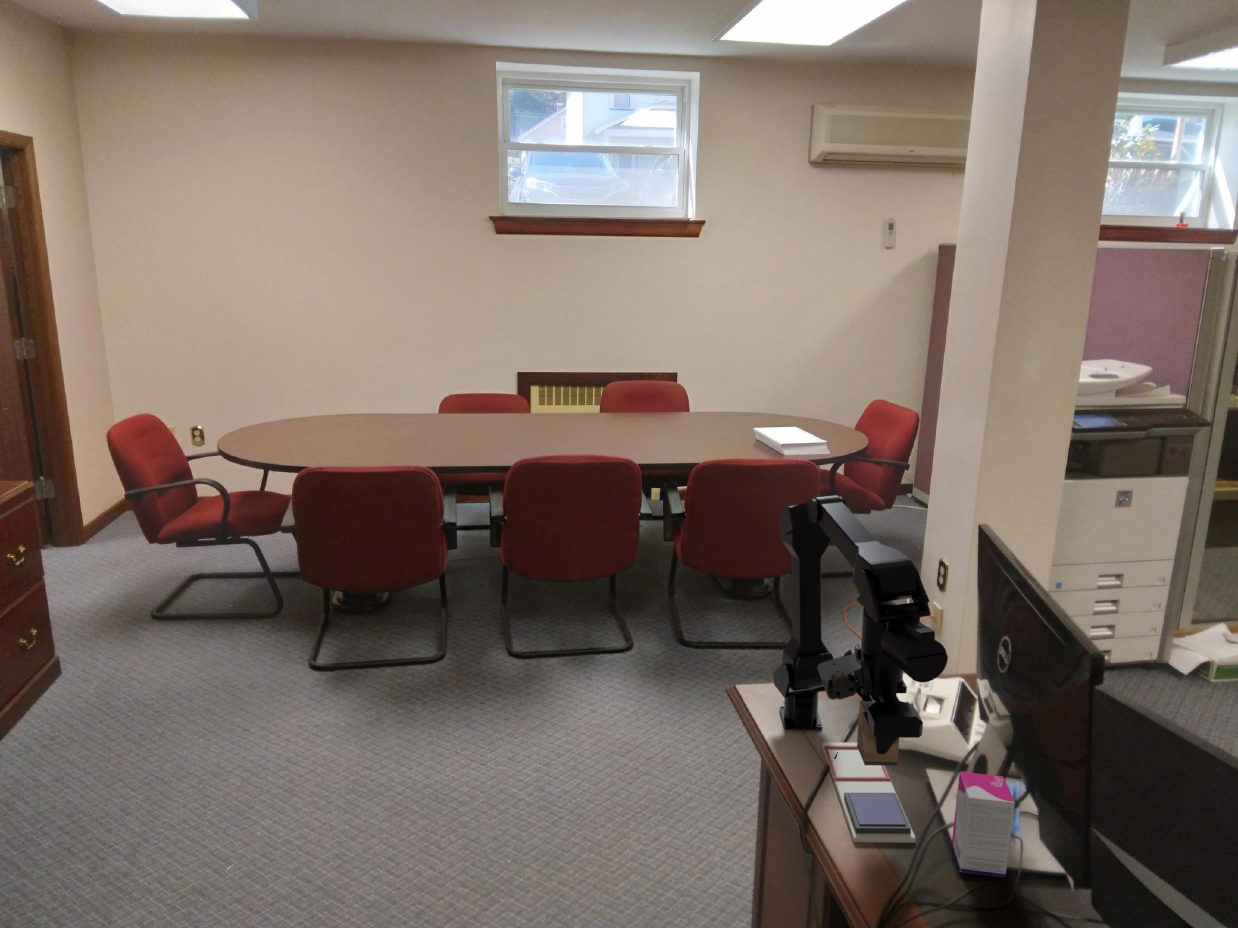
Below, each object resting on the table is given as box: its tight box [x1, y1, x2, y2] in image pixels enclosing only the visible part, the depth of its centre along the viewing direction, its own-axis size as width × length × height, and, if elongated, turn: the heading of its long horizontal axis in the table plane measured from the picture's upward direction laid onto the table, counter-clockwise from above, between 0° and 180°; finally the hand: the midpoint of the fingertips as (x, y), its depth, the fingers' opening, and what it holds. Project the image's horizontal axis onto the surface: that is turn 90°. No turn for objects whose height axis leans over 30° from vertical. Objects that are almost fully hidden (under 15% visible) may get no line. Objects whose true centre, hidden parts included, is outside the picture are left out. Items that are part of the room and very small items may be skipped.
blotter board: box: [821, 742, 917, 844], centre depth 119 cm, size 22×8×2 cm, turn 177°
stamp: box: [856, 700, 900, 766], centre depth 111 cm, size 4×4×7 cm
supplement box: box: [951, 771, 1016, 878], centre depth 104 cm, size 6×6×12 cm
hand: (876, 742), depth 112 cm, fingers closed on stamp, 4 cm apart
